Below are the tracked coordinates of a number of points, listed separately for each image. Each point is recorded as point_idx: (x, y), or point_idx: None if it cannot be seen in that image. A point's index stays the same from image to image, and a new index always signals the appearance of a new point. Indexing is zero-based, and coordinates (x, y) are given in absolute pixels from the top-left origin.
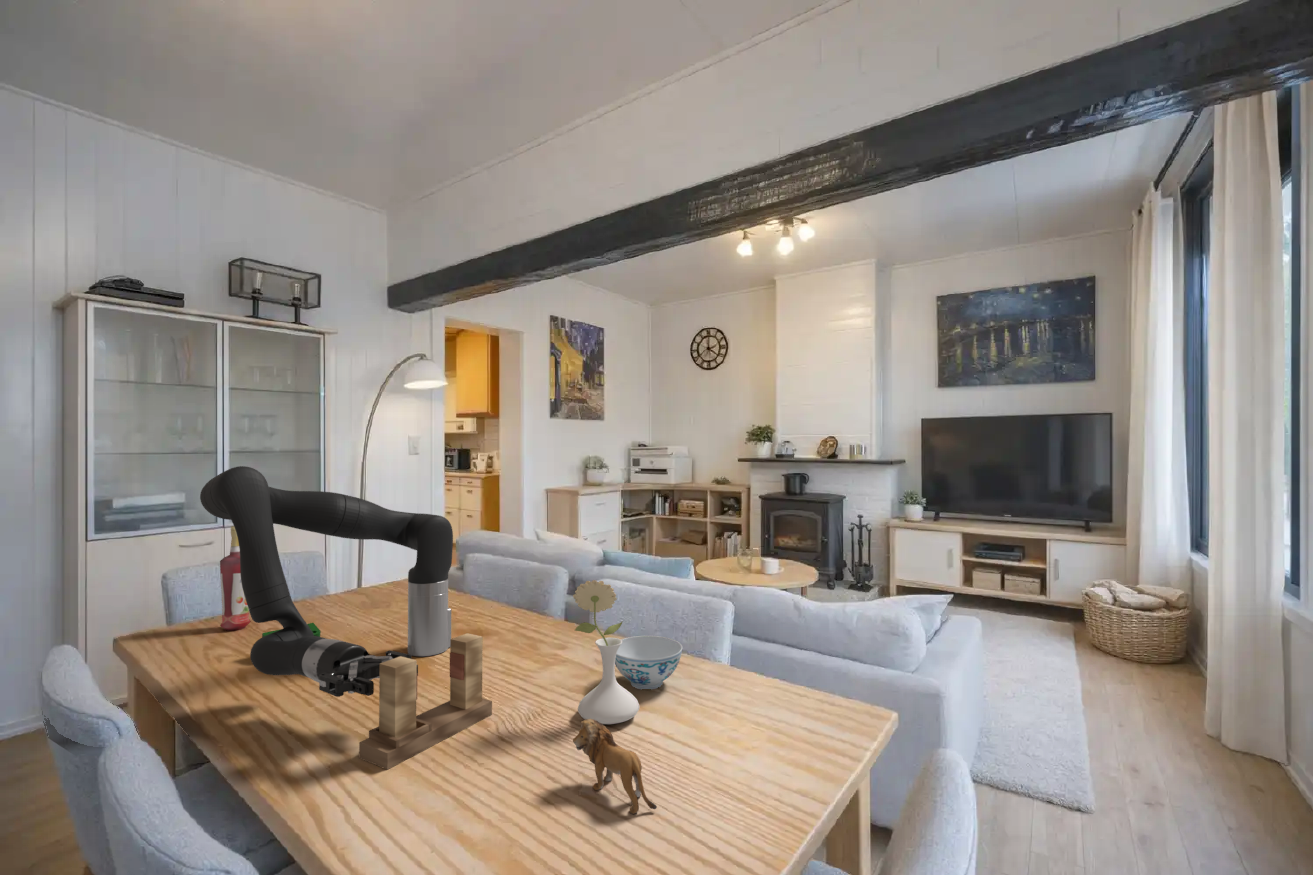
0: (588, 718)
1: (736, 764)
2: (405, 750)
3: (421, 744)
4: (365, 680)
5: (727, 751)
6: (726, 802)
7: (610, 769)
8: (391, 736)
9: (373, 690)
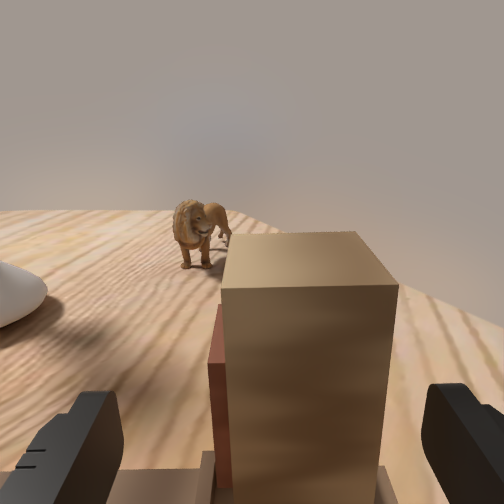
0: (37, 303)
1: (118, 233)
2: None
3: None
4: (482, 418)
5: (92, 239)
6: None
7: (211, 233)
8: None
9: (424, 420)
